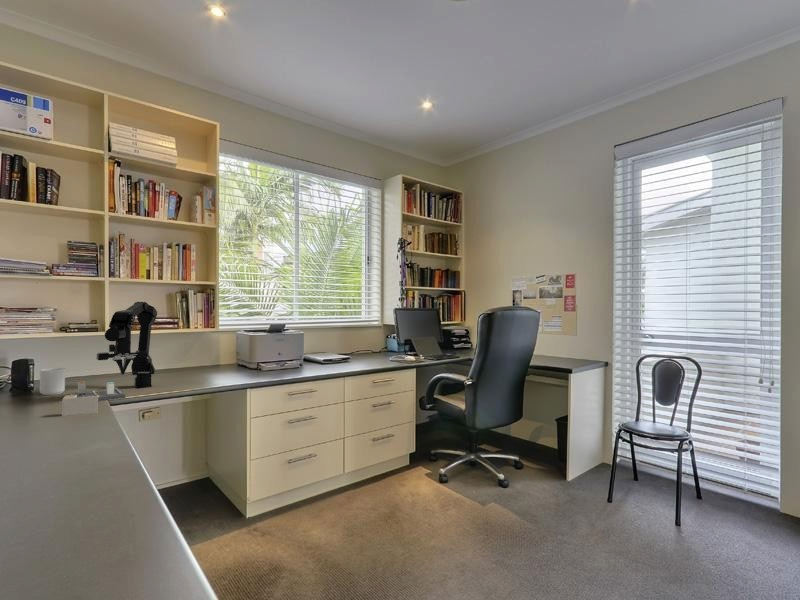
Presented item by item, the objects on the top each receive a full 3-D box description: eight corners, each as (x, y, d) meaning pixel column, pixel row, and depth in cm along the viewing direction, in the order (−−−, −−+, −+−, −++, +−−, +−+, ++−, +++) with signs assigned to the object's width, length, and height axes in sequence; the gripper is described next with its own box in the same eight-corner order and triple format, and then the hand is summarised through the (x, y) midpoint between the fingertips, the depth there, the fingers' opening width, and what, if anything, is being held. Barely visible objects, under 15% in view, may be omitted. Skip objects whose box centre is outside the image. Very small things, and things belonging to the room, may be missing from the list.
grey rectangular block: (84, 391, 184) (84, 380, 184) (85, 392, 182) (85, 382, 182) (77, 392, 183) (77, 381, 183) (78, 393, 180) (78, 382, 180)
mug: (61, 394, 186) (61, 370, 187) (36, 396, 183) (36, 371, 183) (69, 389, 197) (69, 366, 198) (46, 391, 194) (46, 367, 194)
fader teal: (112, 392, 183) (112, 381, 183) (114, 393, 180) (114, 382, 180) (106, 393, 181) (106, 382, 181) (107, 394, 179) (107, 383, 179)
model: (64, 415, 154) (64, 394, 154) (99, 412, 159) (99, 392, 159) (61, 417, 151) (62, 396, 151) (97, 414, 156) (97, 393, 156)
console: (117, 391, 195) (117, 386, 195) (125, 397, 181) (125, 392, 181) (66, 397, 182) (66, 392, 182) (70, 404, 168) (70, 399, 168)
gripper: (143, 337, 197) (142, 369, 196) (94, 339, 184) (94, 374, 184) (148, 338, 189) (148, 373, 188) (98, 341, 176) (98, 377, 176)
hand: (122, 374), depth 184 cm, fingers closed
